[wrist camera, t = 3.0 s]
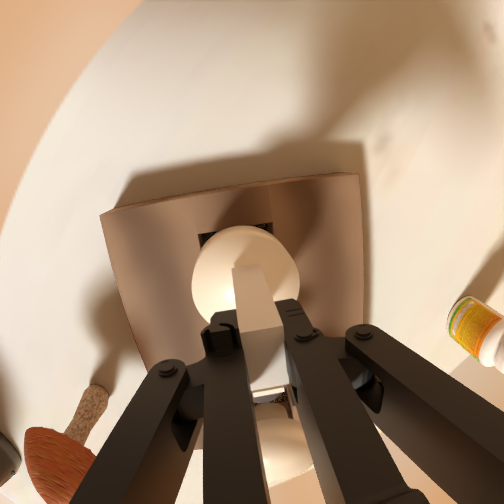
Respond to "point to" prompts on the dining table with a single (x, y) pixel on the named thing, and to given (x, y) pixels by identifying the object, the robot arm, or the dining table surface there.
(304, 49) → the dining table surface
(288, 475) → the knob
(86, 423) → the mushroom
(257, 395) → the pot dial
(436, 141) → the dining table surface
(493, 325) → the supplement bottle
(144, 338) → the console
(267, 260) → the knob
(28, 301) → the dining table surface
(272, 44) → the dining table surface
